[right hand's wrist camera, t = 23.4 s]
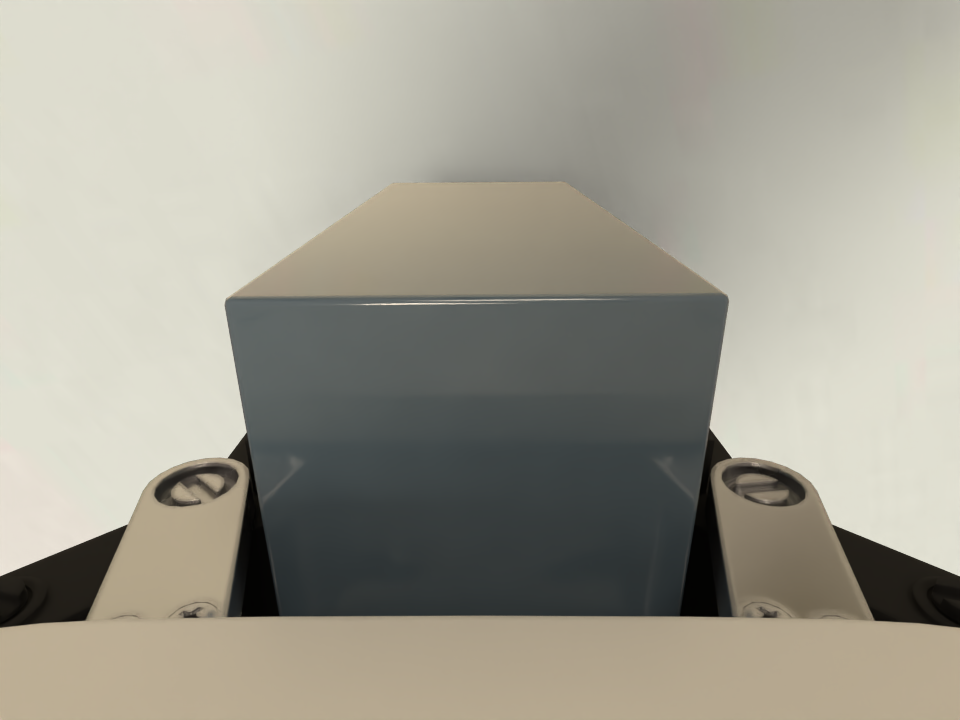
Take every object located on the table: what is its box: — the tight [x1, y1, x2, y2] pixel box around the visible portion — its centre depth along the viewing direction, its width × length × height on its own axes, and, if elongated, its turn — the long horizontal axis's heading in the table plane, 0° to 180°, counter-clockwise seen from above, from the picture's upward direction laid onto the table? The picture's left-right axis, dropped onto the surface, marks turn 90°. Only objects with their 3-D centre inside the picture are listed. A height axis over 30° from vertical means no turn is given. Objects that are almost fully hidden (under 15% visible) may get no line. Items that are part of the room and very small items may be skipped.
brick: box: [225, 182, 729, 617], centre depth 12 cm, size 5×8×11 cm, turn 0°
